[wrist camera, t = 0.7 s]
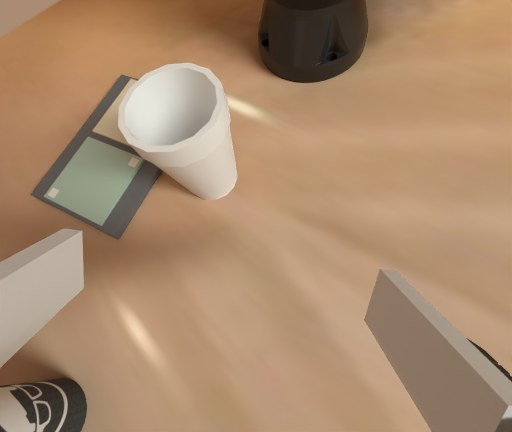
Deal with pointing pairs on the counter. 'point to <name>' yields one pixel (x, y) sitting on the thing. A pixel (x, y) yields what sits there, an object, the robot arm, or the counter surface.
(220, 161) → the foam cup
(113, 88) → the tile board
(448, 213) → the counter surface
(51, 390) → the coffee cup
